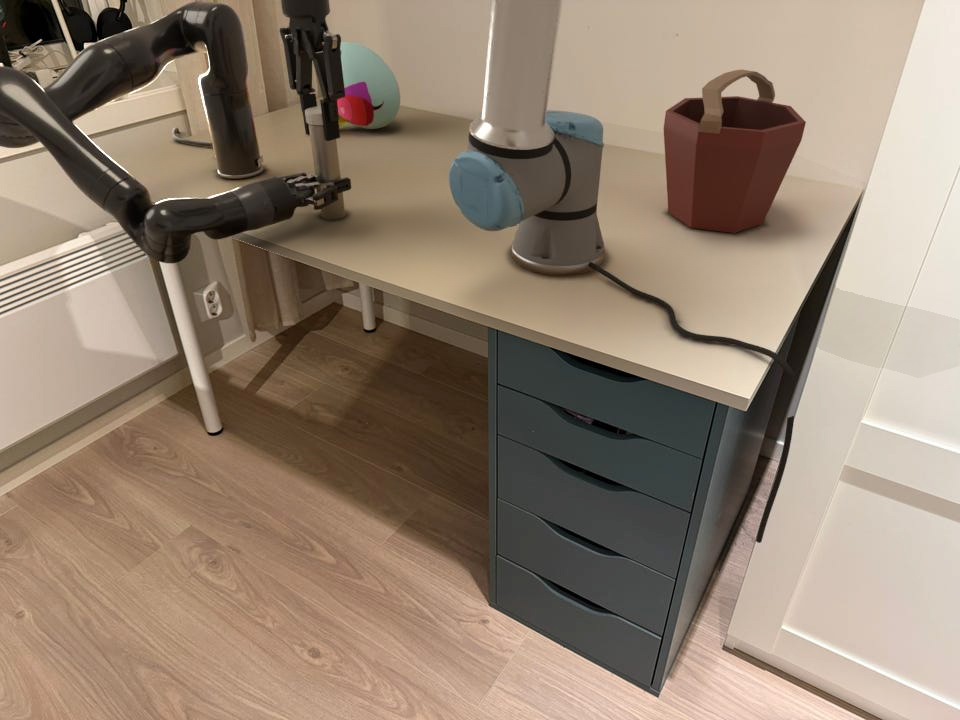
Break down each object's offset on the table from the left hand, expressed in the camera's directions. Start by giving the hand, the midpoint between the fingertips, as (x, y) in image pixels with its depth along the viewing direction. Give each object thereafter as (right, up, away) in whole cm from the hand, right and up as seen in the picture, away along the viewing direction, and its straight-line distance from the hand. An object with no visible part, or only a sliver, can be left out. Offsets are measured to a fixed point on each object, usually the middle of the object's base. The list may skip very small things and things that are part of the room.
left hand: (341, 179), depth 131 cm
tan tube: (-2, -6, +2) cm, 7 cm away
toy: (-6, +26, +49) cm, 56 cm away
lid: (-2, +10, -9) cm, 13 cm away
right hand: (-2, +6, -6) cm, 9 cm away
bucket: (+69, -6, +1) cm, 70 cm away
